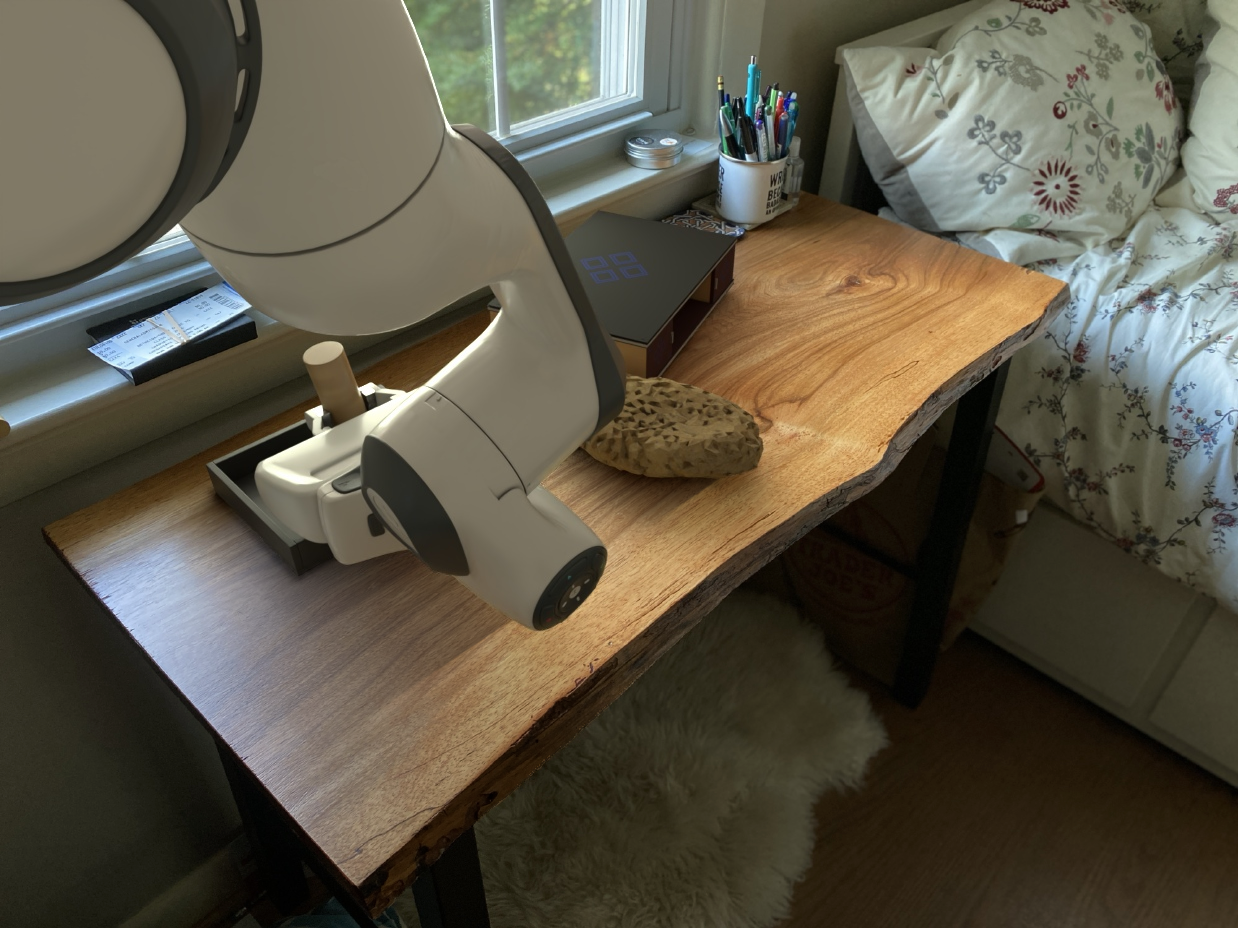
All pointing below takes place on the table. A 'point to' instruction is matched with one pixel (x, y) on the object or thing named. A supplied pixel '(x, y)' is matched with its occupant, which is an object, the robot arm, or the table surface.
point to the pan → (243, 497)
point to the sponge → (677, 433)
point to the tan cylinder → (334, 381)
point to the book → (649, 283)
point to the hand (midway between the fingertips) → (338, 404)
